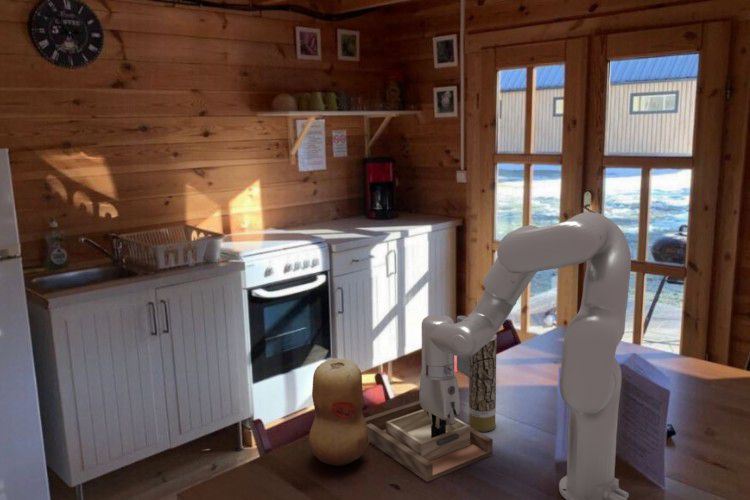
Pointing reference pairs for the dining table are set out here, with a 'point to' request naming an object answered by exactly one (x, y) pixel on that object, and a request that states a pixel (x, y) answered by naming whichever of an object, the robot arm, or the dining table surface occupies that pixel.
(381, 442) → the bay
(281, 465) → the dining table surface
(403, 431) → the crate
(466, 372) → the hip flask
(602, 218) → the robot arm
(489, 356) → the wooden log
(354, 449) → the butternut squash
